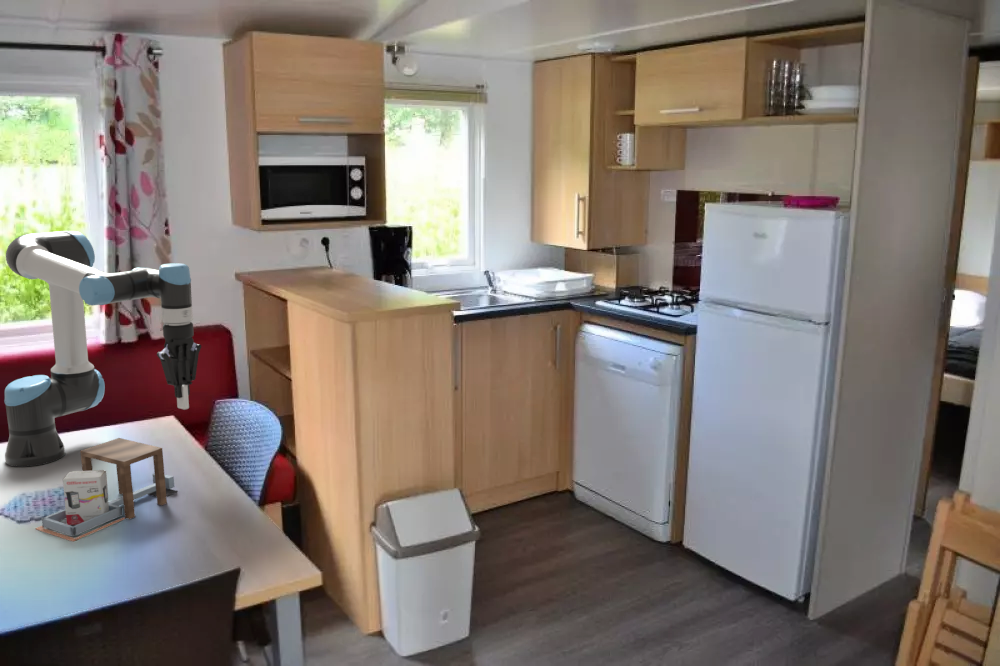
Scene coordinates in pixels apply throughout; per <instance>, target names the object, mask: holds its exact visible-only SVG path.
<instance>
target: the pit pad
mask: <svg viewBox="0 0 1000 666" xmlns="http://www.w3.org/2000/svg"><path fill="white" fill-rule="evenodd" d="M176 493H178V490H176V489H173V488H171V489H167V488H166V498H167V497H169V496H171V495H174V494H176ZM147 495H149V496H152V497H154V498H155V497H156V498H157V495H156V491H154V492H152V493H149V494H147Z"/></svg>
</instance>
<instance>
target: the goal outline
mask: <svg viewBox="0 0 1000 666" xmlns="http://www.w3.org/2000/svg"><path fill="white" fill-rule="evenodd" d="M125 519H126V518H125V516H124V517H123V516H122V517H120V518H118V519H116V520H113V521H112V522H109V523H107V524H104V525H102V526H100V527H99V526H98V527H97V528H94V529H92V530H90V531H89V532H88V531H87V532H84V534H81V535H79V536H77V537H74V536H70V535H67V534H64V533H61V532H58V531H55V530H52V529H49V528H46V527H43V526H42V525H40V526H38V527H36V528H35V530H37V531H40V532H43V533H45V534H49V535H52V536H54V537H58V538H61V539H63V540H67V541H70V542H75V541H78V540H81V539H82V537H83V538H85V537H87V536H89V535H91V534H95V533H96V532H99V531H101V530H103V529H105V528H107V527H110V526H112V525H115V524H116V523H119V522H122V521H124V520H125ZM58 522H60V521H58Z"/></svg>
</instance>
